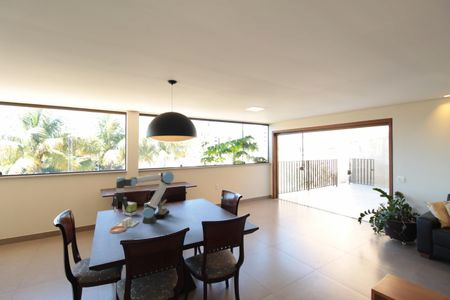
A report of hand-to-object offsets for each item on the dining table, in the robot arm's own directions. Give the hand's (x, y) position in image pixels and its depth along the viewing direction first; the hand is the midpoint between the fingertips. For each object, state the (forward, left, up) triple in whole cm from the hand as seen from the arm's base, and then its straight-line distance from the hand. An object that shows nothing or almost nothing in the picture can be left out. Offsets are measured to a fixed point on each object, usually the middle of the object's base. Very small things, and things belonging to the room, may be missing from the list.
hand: (119, 213), depth 221 cm
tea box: (+15, -50, -17) cm, 55 cm away
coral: (-26, -44, -17) cm, 54 cm away
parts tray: (-1, -11, -16) cm, 20 cm away
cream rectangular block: (-1, -15, -16) cm, 22 cm away
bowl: (-1, +5, -16) cm, 17 cm away
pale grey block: (-1, -8, -16) cm, 18 cm away
